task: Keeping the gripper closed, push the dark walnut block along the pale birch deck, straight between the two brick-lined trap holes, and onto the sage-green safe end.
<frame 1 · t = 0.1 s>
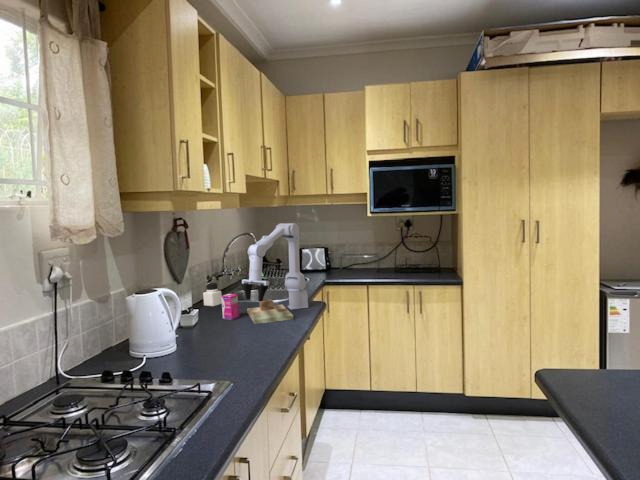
hand: (254, 300, 210), 11 cm above the table, tool pointing down, fingers open, 7 cm apart
supplement box: (231, 318, 222), on the table
medicine bottle: (213, 304, 255), on the table
walnut block: (266, 308, 230), point 2 cm above the table, touching trap deck
trap deck: (269, 315, 223), on the table
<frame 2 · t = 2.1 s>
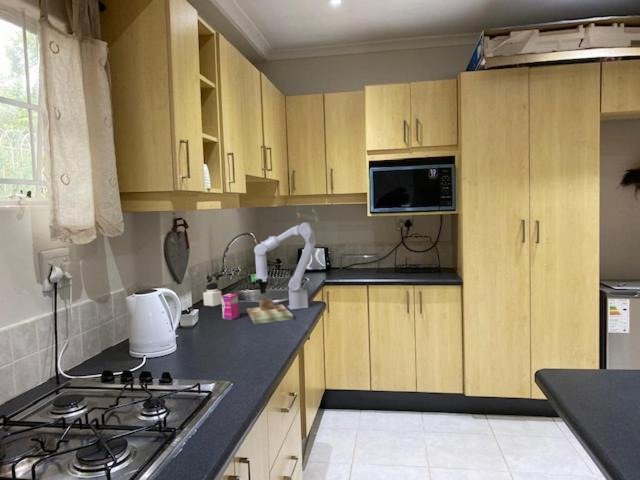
hand: (263, 293, 237), 8 cm above the table, tool pointing down, fingers closed
nothing on the table moved.
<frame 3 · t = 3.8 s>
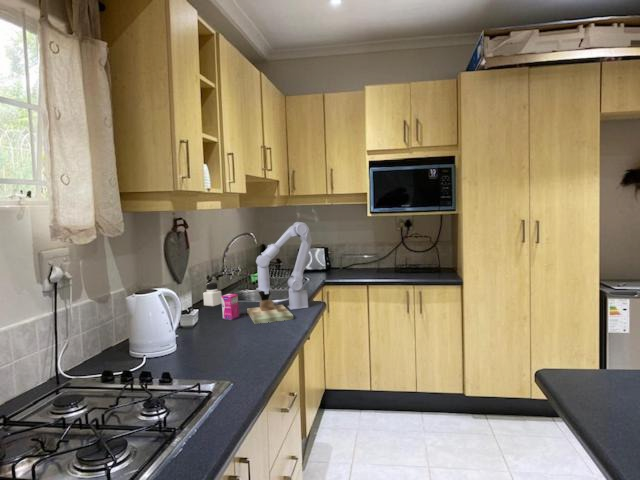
hand: (265, 305, 233), 3 cm above the table, tool pointing down, fingers closed
walnut block: (266, 309, 229), point 2 cm above the table, touching gripper, trap deck
everything else where it was.
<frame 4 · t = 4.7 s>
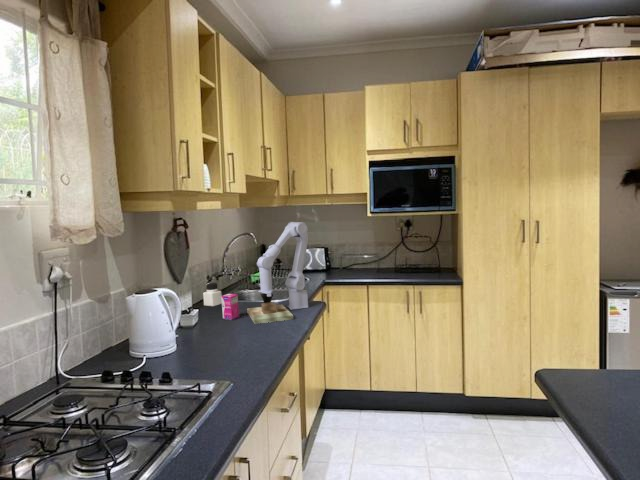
hand: (267, 308, 227), 3 cm above the table, tool pointing down, fingers closed
walnut block: (269, 312, 223), point 2 cm above the table, touching gripper, trap deck
everything else where it was.
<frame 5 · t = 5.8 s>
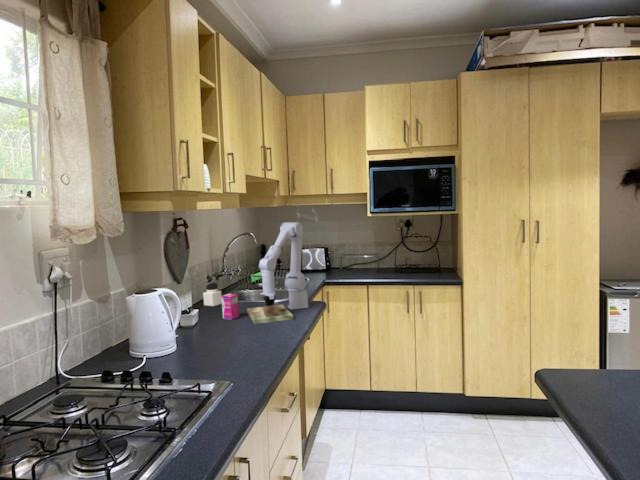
hand: (270, 311, 221), 3 cm above the table, tool pointing down, fingers closed
walnut block: (271, 315, 216), point 2 cm above the table, touching gripper, trap deck
everything else where it was.
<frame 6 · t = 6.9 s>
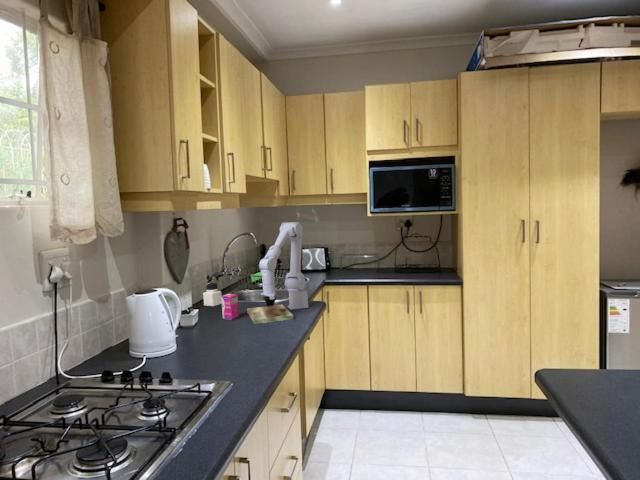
hand: (270, 311, 220), 3 cm above the table, tool pointing down, fingers closed
walnut block: (271, 315, 215), point 2 cm above the table, touching trap deck
everything else where it was.
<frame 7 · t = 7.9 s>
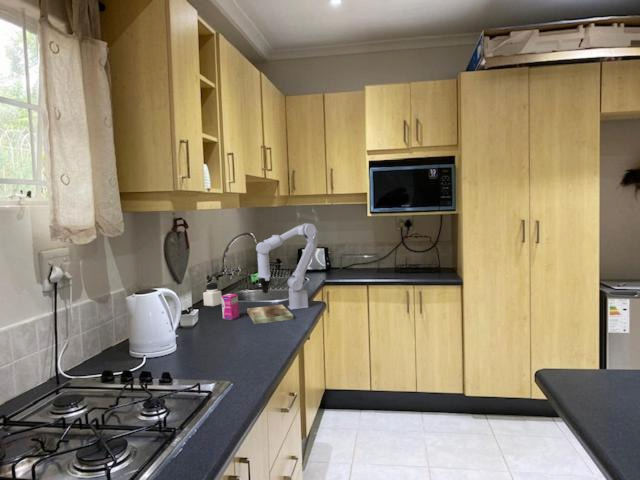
hand: (265, 292, 232), 9 cm above the table, tool pointing down, fingers closed
nothing on the table moved.
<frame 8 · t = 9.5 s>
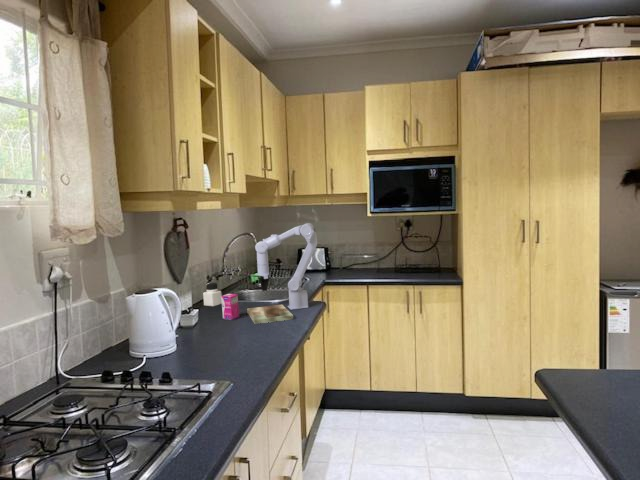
hand: (264, 290, 238), 9 cm above the table, tool pointing down, fingers closed
nothing on the table moved.
at the end: walnut block inside the target area (0.2 cm from its centre), point 2.0 cm above the table; walnut block tilted 0° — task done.
